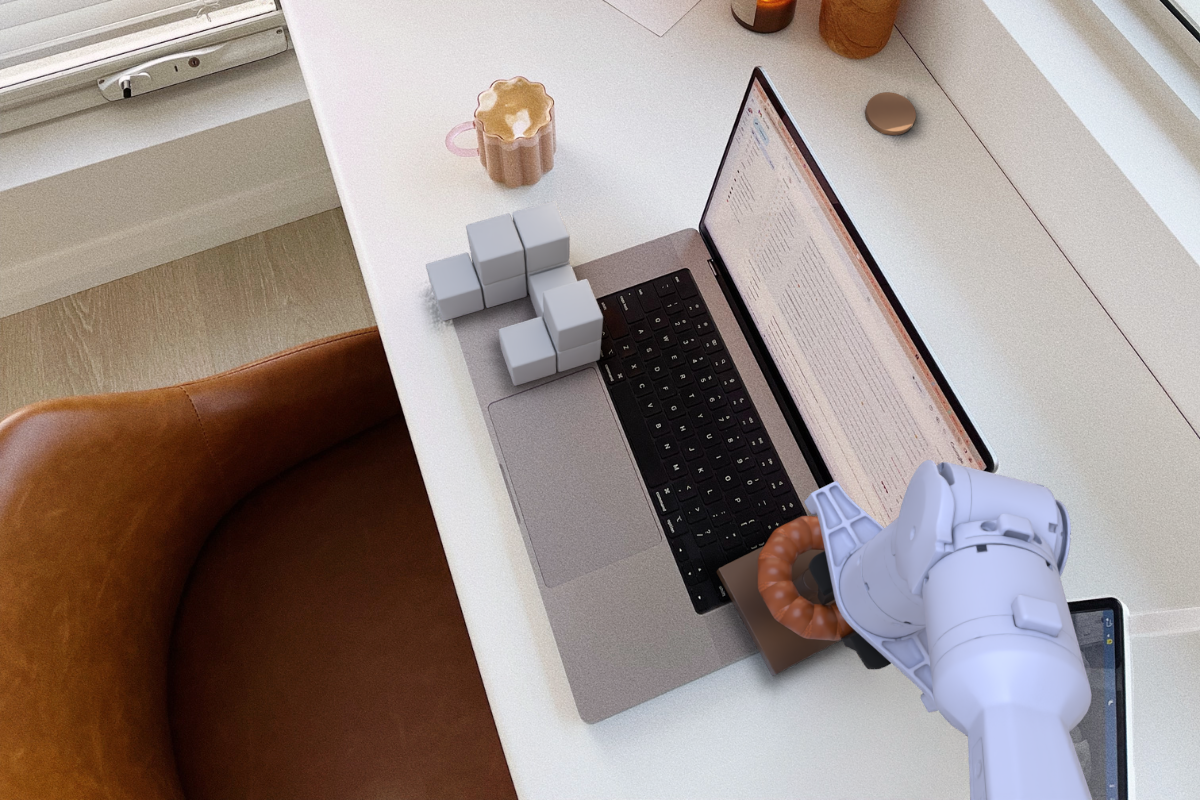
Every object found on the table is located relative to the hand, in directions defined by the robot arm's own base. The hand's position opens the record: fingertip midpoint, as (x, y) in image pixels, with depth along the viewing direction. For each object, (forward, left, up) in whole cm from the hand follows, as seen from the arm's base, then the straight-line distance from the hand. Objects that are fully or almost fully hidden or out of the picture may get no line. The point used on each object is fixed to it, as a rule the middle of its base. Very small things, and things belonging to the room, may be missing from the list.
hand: (843, 616), depth 64 cm
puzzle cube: (+35, +10, -9) cm, 38 cm away
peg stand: (+3, 0, -9) cm, 9 cm away
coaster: (+41, -34, -9) cm, 54 cm away
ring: (+3, 0, 0) cm, 3 cm away
